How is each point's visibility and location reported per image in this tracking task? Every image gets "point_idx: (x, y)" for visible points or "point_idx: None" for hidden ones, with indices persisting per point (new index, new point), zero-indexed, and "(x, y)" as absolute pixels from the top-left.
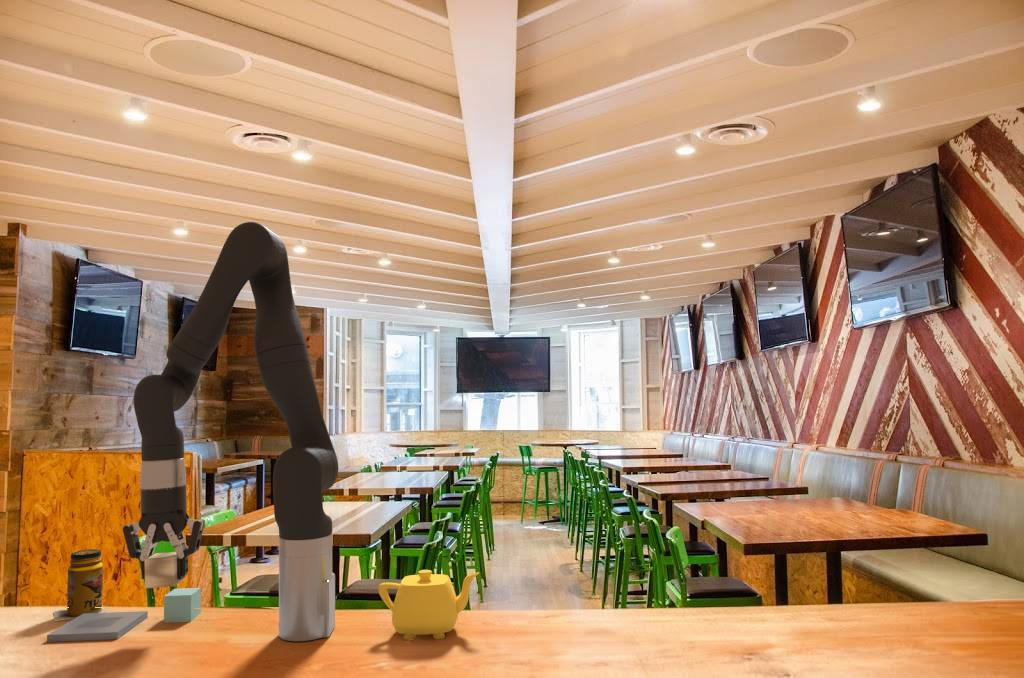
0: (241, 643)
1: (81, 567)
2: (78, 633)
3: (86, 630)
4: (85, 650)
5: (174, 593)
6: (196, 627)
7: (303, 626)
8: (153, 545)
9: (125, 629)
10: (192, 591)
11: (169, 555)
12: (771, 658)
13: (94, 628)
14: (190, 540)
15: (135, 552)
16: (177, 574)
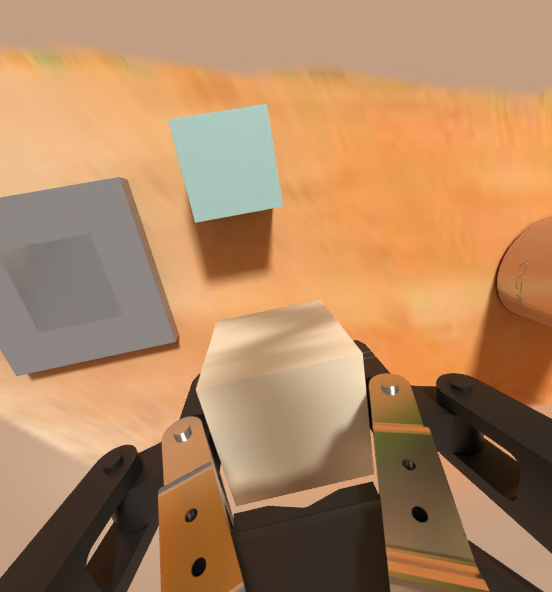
0: (436, 327)
1: None
2: (87, 359)
3: (87, 341)
4: (163, 392)
5: (211, 189)
6: (309, 249)
7: None
8: (230, 514)
9: (165, 304)
10: (262, 159)
11: (324, 438)
12: None
13: (95, 327)
14: (511, 511)
15: (152, 530)
16: None
